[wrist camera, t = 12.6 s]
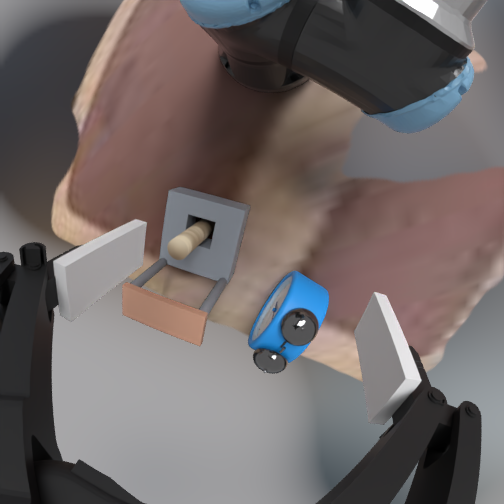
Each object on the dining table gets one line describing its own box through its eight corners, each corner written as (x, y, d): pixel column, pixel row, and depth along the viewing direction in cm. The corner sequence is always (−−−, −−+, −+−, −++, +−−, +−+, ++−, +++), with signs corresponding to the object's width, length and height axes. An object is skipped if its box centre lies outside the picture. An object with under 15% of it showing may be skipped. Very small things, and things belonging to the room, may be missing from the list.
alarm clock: (297, 256, 44) (291, 304, 30) (328, 276, 44) (335, 330, 31) (255, 313, 49) (236, 370, 36) (284, 330, 50) (274, 390, 36)
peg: (202, 214, 45) (169, 235, 34) (218, 219, 45) (189, 242, 34) (198, 230, 46) (166, 255, 35) (214, 235, 46) (185, 262, 35)
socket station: (179, 186, 44) (127, 204, 30) (250, 205, 43) (223, 232, 29) (167, 272, 50) (122, 314, 36) (228, 293, 49) (199, 346, 35)
